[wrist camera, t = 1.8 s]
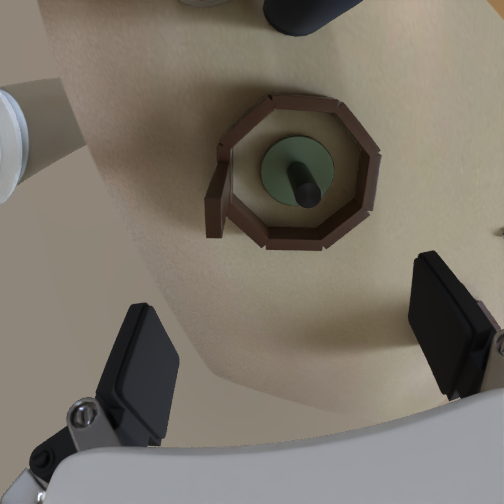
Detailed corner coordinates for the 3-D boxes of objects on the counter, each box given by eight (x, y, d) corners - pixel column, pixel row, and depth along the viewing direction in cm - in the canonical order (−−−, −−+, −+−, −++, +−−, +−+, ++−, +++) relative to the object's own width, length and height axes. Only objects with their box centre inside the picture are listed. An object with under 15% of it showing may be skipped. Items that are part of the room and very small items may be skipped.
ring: (221, 236, 39) (209, 308, 27) (219, 92, 30) (200, 101, 19) (357, 239, 39) (393, 307, 28) (377, 103, 30) (438, 123, 19)
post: (259, 202, 36) (261, 235, 30) (261, 133, 32) (264, 149, 26) (328, 205, 36) (345, 237, 30) (335, 137, 32) (357, 155, 26)
